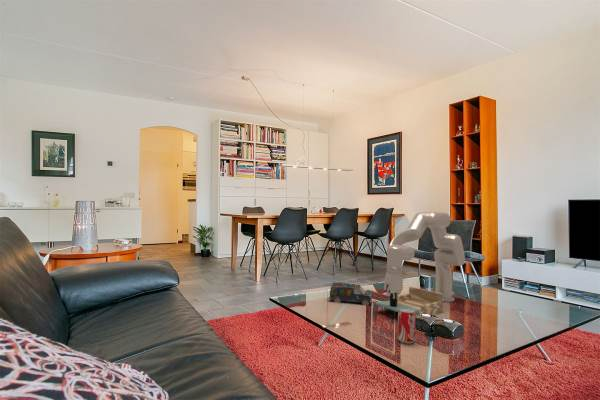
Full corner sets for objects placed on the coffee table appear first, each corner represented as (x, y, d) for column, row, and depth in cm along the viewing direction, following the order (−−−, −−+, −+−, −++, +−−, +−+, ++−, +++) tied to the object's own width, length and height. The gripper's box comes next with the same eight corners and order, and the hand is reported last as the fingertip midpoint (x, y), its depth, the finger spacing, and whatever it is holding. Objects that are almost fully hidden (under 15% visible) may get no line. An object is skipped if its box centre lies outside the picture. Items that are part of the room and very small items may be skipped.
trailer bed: (410, 303, 196) (410, 286, 196) (442, 312, 180) (442, 293, 180) (389, 308, 184) (389, 290, 184) (421, 318, 168) (421, 299, 168)
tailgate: (389, 300, 183) (375, 302, 176) (420, 309, 168) (406, 311, 161) (389, 304, 183) (375, 305, 176) (419, 313, 168) (405, 315, 161)
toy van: (371, 306, 188) (371, 288, 189) (328, 302, 194) (329, 285, 194) (371, 301, 199) (372, 284, 199) (331, 297, 204) (331, 281, 204)
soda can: (394, 337, 142) (395, 307, 142) (410, 337, 143) (411, 307, 143) (401, 344, 135) (401, 312, 135) (418, 344, 136) (418, 312, 136)
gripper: (397, 268, 178) (396, 302, 178) (379, 270, 169) (378, 306, 169) (409, 270, 172) (408, 305, 172) (391, 272, 163) (390, 310, 163)
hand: (393, 306), depth 170 cm, fingers closed
